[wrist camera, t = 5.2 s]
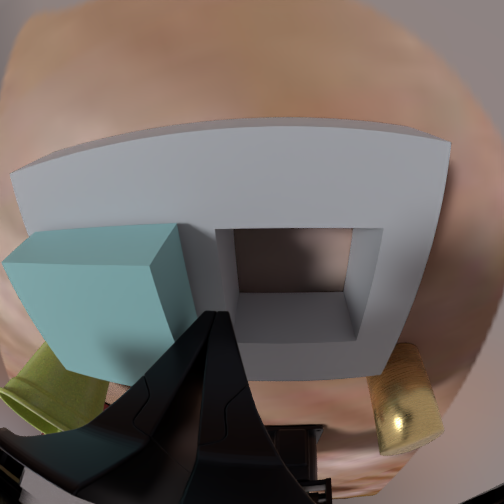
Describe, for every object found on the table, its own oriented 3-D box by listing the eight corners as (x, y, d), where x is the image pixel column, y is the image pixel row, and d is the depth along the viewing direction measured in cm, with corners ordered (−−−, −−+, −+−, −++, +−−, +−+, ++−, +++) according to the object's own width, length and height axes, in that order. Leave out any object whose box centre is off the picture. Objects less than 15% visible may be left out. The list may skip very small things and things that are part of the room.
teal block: (206, 352, 12) (196, 396, 10) (85, 336, 13) (66, 369, 11) (177, 223, 9) (149, 265, 7) (35, 231, 9) (1, 262, 7)
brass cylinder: (406, 374, 19) (425, 446, 13) (358, 380, 19) (371, 459, 13) (426, 339, 16) (456, 421, 11) (372, 346, 17) (394, 438, 11)
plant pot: (154, 372, 20) (125, 465, 13) (98, 384, 23) (71, 451, 16) (69, 293, 16) (7, 388, 9) (32, 324, 20) (-11, 391, 12)
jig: (368, 329, 16) (380, 374, 13) (113, 322, 17) (93, 360, 14) (407, 126, 10) (451, 142, 7) (55, 151, 11) (9, 173, 8)
